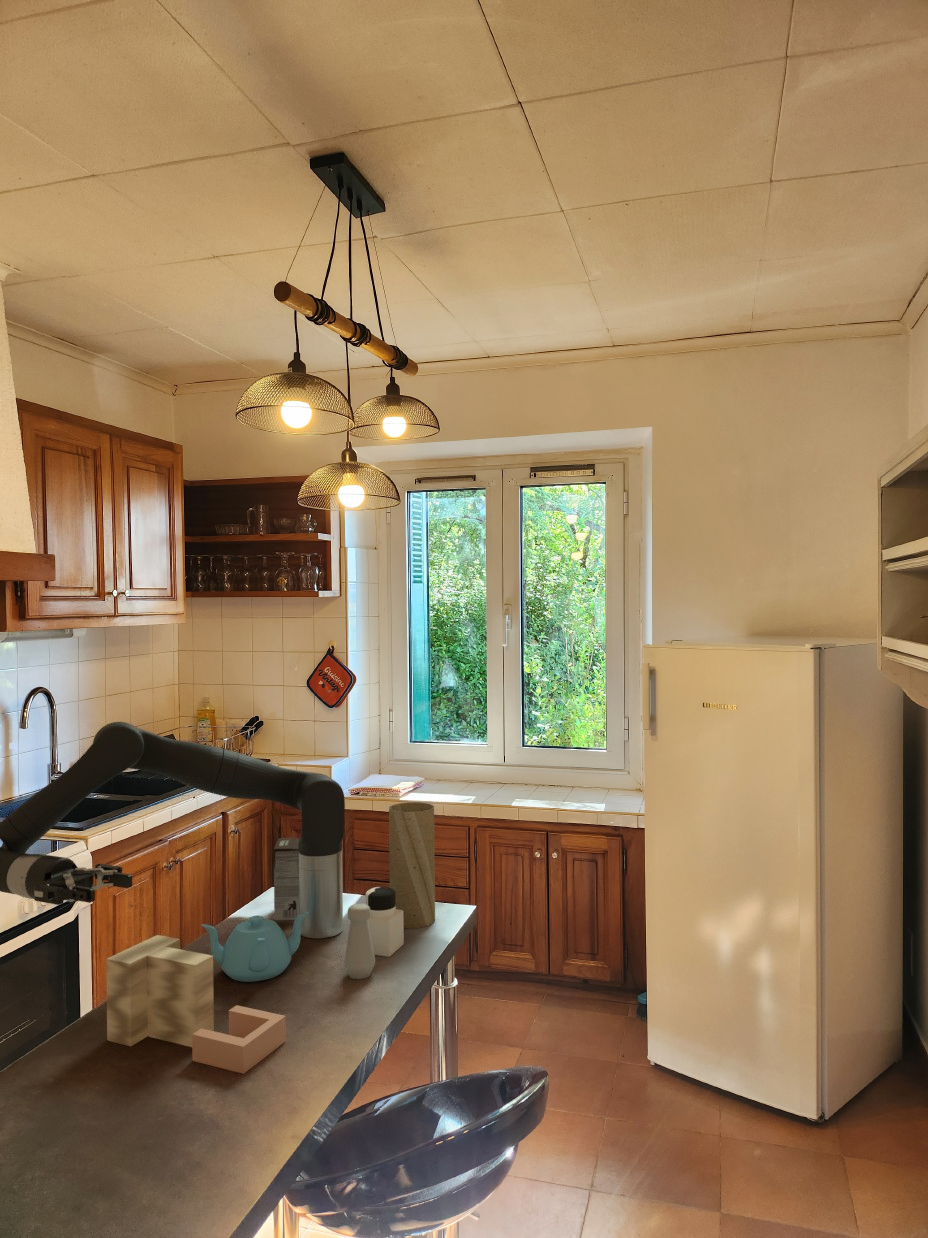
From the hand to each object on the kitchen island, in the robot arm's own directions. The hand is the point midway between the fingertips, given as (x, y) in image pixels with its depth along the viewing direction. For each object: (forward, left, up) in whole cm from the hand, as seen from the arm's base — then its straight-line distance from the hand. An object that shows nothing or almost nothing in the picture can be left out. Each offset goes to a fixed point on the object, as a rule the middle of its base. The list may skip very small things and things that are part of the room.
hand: (112, 888), depth 141 cm
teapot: (-8, +26, -22) cm, 35 cm away
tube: (-20, +63, -22) cm, 69 cm away
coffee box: (-37, +40, -22) cm, 59 cm away
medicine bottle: (-8, +51, -22) cm, 56 cm away
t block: (+9, +8, -22) cm, 25 cm away
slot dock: (+19, +16, -22) cm, 34 cm away
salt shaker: (+2, +43, -22) cm, 48 cm away
